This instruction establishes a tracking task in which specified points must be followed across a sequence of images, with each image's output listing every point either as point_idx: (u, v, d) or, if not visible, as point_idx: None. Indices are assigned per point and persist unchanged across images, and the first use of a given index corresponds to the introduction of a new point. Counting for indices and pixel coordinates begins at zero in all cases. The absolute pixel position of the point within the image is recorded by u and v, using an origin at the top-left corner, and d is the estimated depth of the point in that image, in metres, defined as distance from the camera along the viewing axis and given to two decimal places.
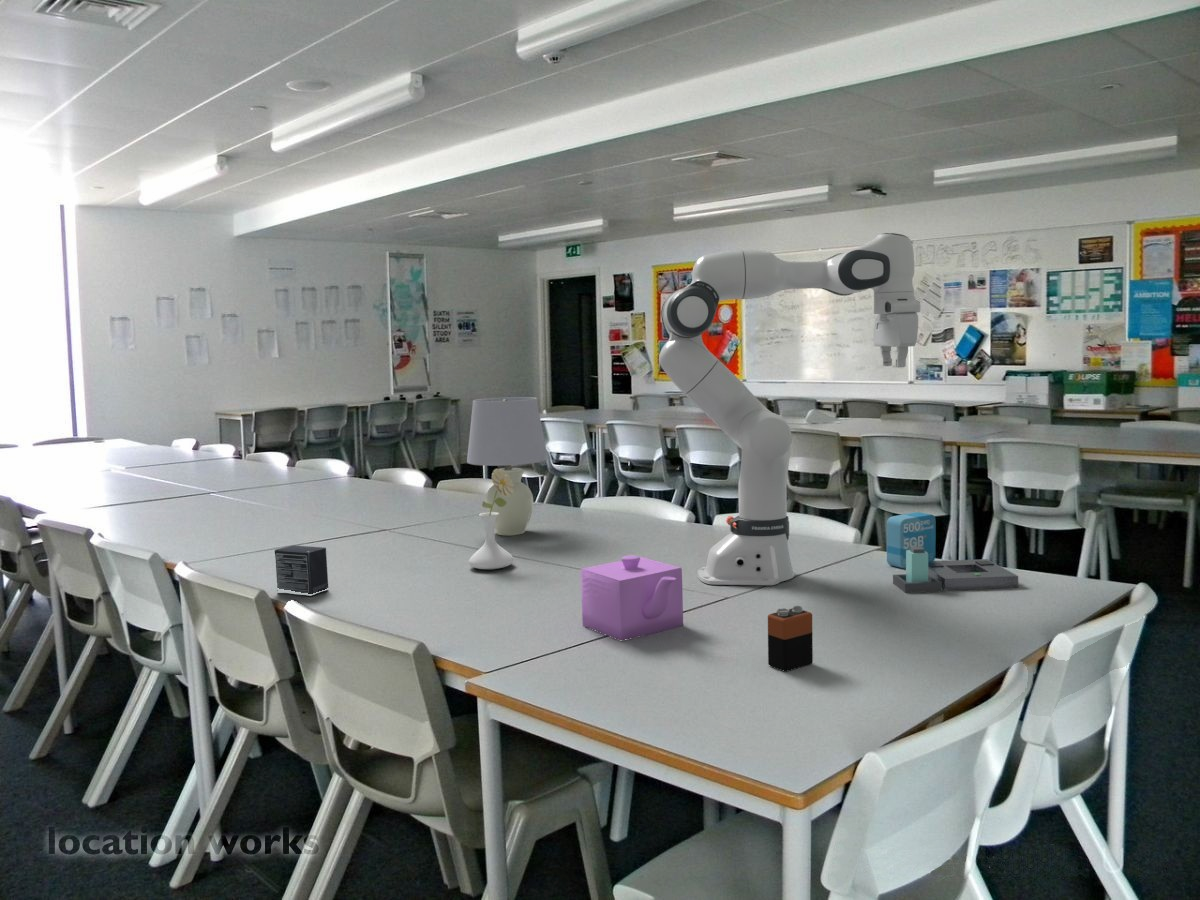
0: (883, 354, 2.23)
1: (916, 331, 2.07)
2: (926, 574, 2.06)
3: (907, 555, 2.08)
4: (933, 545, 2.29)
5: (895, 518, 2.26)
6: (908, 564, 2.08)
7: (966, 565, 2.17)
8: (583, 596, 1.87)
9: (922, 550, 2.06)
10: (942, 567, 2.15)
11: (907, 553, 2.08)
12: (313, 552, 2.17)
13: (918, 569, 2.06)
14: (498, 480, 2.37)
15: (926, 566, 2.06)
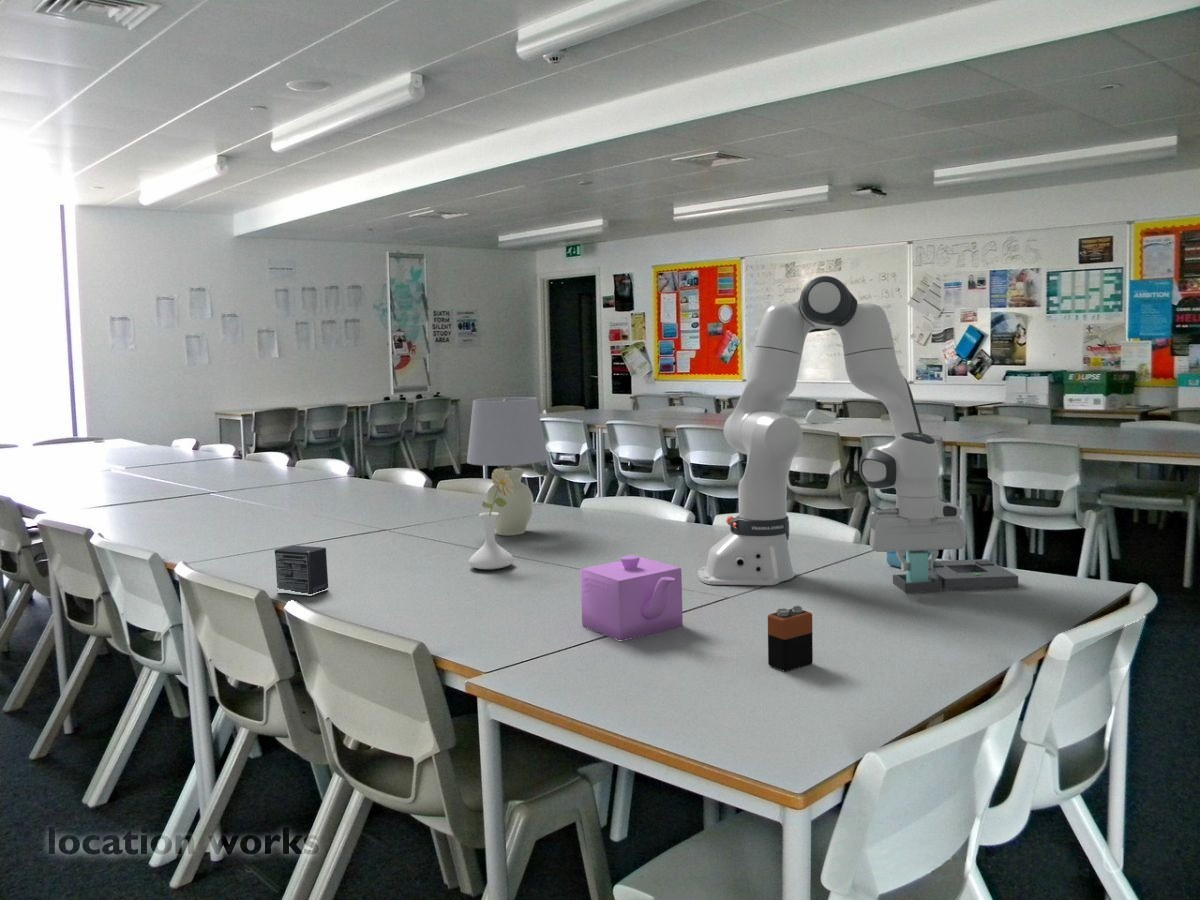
0: (903, 558, 2.07)
1: None
2: (926, 574, 2.06)
3: (907, 555, 2.08)
4: None
5: None
6: None
7: (966, 565, 2.17)
8: (582, 596, 1.87)
9: (922, 550, 2.06)
10: (942, 567, 2.15)
11: (907, 553, 2.08)
12: (313, 552, 2.17)
13: (918, 569, 2.06)
14: (498, 480, 2.37)
15: (926, 566, 2.06)
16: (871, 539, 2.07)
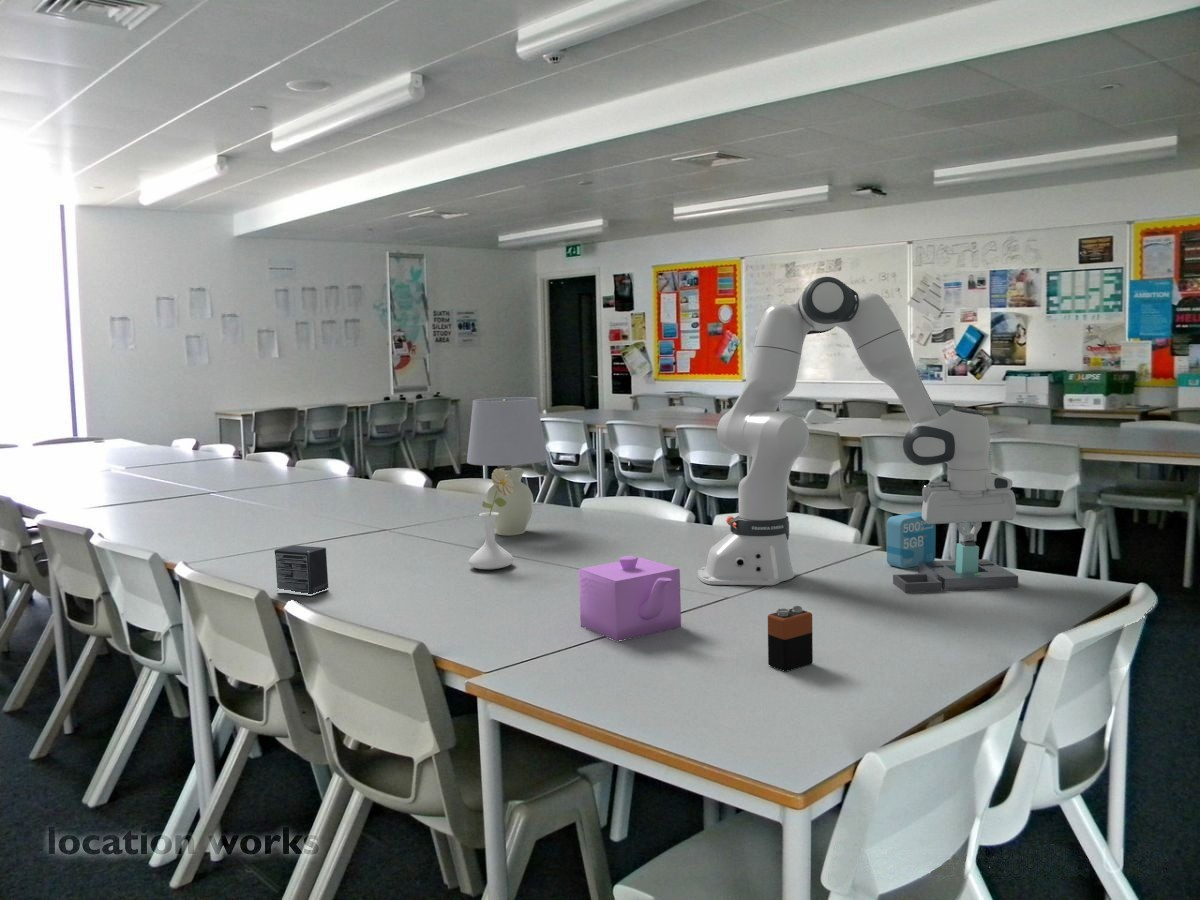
0: None
1: None
2: (976, 567, 2.11)
3: (957, 548, 2.13)
4: (933, 545, 2.29)
5: (895, 518, 2.26)
6: (958, 557, 2.13)
7: None
8: (581, 596, 1.87)
9: (972, 544, 2.11)
10: (942, 567, 2.15)
11: (958, 546, 2.13)
12: (313, 552, 2.17)
13: (968, 561, 2.11)
14: (498, 480, 2.37)
15: (976, 559, 2.11)
16: (923, 512, 2.12)
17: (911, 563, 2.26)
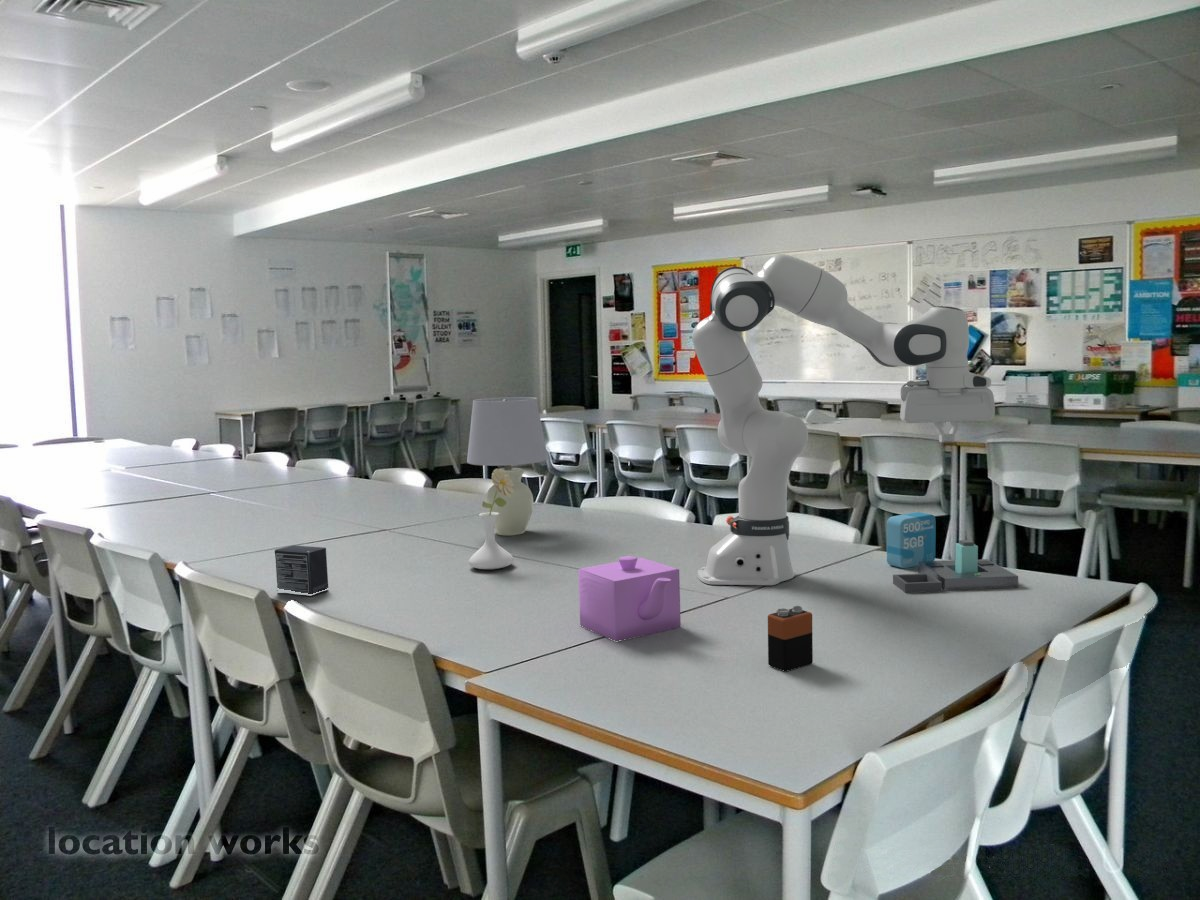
0: None
1: None
2: (975, 566, 2.11)
3: (956, 548, 2.13)
4: (933, 545, 2.29)
5: (895, 518, 2.26)
6: (958, 557, 2.13)
7: None
8: (580, 596, 1.87)
9: (971, 543, 2.11)
10: (942, 567, 2.15)
11: (957, 546, 2.13)
12: (313, 552, 2.17)
13: (967, 561, 2.11)
14: (498, 480, 2.37)
15: (976, 559, 2.11)
16: (902, 411, 2.11)
17: (911, 563, 2.26)
